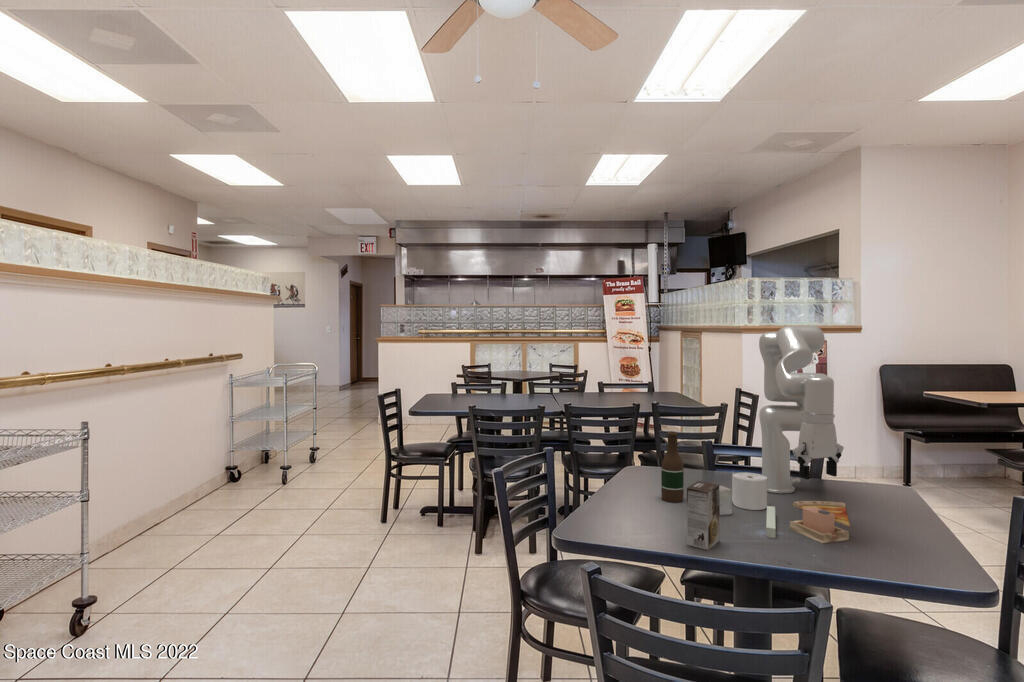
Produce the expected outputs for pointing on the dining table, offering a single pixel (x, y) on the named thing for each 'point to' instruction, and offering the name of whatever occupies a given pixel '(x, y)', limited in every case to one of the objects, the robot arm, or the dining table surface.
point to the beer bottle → (672, 472)
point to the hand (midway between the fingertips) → (818, 476)
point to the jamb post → (725, 500)
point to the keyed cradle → (817, 536)
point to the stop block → (819, 520)
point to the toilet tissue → (749, 491)
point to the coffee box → (703, 515)
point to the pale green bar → (770, 522)
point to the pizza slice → (827, 509)
